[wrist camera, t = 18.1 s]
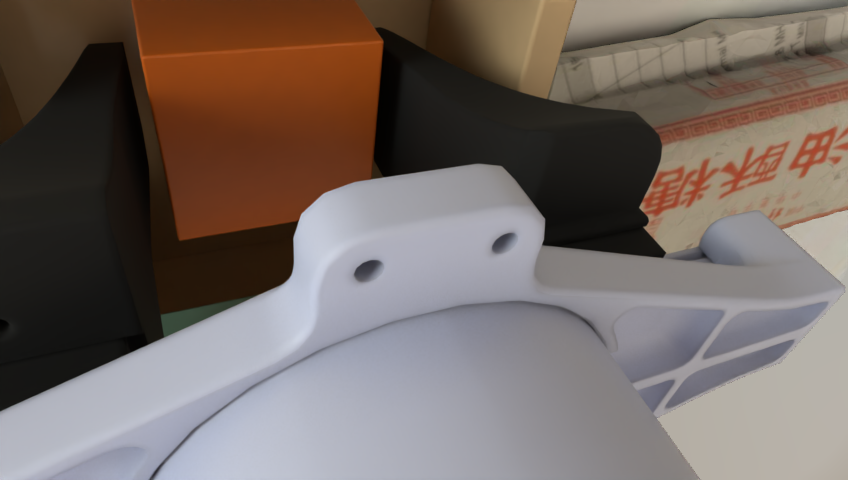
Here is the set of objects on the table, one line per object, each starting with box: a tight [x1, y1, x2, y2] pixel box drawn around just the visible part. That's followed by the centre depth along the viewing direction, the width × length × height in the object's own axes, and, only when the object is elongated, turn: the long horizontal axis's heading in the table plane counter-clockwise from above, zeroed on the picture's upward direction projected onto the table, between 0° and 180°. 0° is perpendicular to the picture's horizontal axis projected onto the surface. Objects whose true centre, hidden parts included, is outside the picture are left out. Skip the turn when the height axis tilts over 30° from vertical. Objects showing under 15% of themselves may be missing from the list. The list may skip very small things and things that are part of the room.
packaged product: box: [547, 6, 848, 254], centre depth 25 cm, size 18×5×10 cm
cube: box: [131, 0, 384, 240], centre depth 13 cm, size 4×4×4 cm
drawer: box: [0, 0, 576, 315], centre depth 12 cm, size 17×12×6 cm
